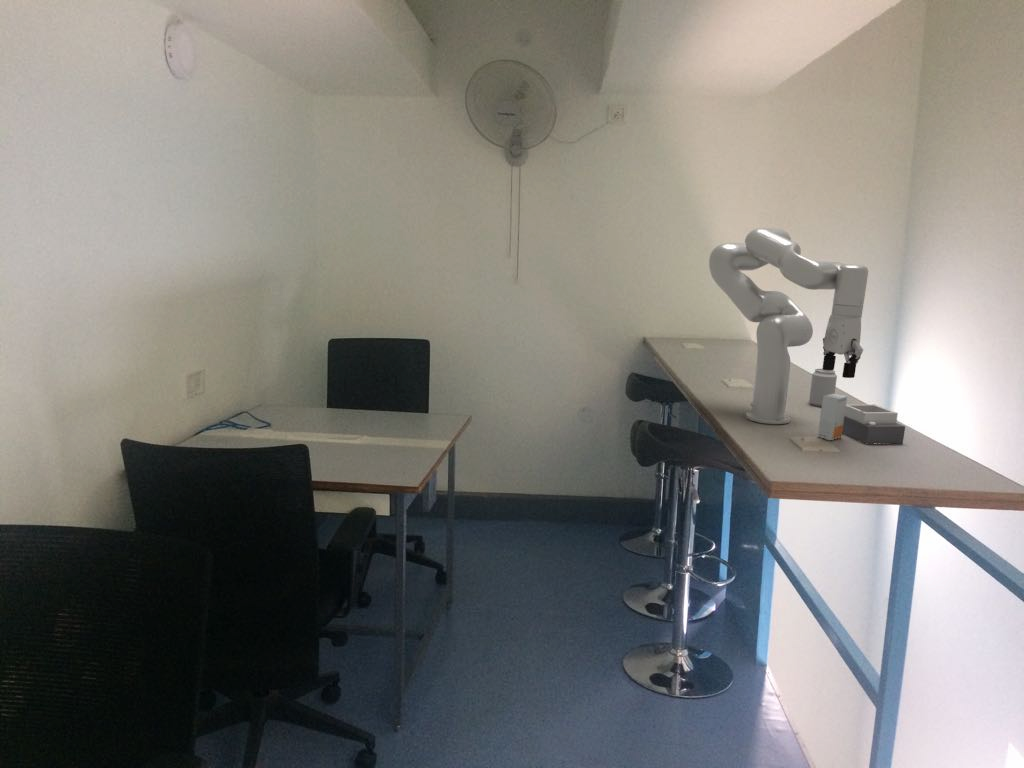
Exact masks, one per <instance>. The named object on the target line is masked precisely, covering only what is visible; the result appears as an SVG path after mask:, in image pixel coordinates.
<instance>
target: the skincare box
mask: <svg viewBox="0 0 1024 768" xmlns="http://www.w3.org/2000/svg"><path fill="white" fill-rule="evenodd" d="M847 399H848V396H847V395H842V394H837V393H835V394H829V395H826V396H823V401H822V407H820V408H821V410H820V416H819V425H818V432H817V438H818V437H822V438H825V439H824V440H827V441H831V440H832V441H834V439H835V440H837V438H838V439H841V438H842V435H843V434H842V429H843V422H844V415H845V408H846V405H847V401H848V400H847ZM822 438H821V439H822Z"/></svg>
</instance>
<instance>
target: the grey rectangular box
mask: <svg viewBox="0 0 1024 768" xmlns="http://www.w3.org/2000/svg"><path fill="white" fill-rule="evenodd" d="M905 430H906V426H905V425H903V424H900V423H898V412H896V411H893V410H891V409H888V408H886V407H883V406H880V405H877V404H875V403H874V404H871V403H870V404H867V403H866V404H846V408H845V415H844V422H843V429H842V433H843V434H842V435H844V436H847V435H848V436H847V437H849V436H850V438H851V437H852V438H851V439H853V438H855V439H856V441H858V440H859V441H858V442H860V441H861V442H860V443H862V442H864V443H867V444H869V445H875V444H874V443H877V444H876V445H879V444H878V443H881V444H880V445H883V444H882V443H904V438H905V437H904V436H905ZM855 439H854V440H855ZM864 443H863V444H864Z"/></svg>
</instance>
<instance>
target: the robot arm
mask: <svg viewBox="0 0 1024 768" xmlns="http://www.w3.org/2000/svg"><path fill="white" fill-rule="evenodd" d="M801 251H802V250H801V247H800V245H799V243H797V242H795V241H793V240H792V237H791V235H790V234H789V232H787V231H786V230H784V229H781V228H775V227H774V228H769V227H768V228H767V227H758V228H755V229H752V230H751V231H750V232H748V233H747V235H746V236H745V239H744V243H742V242H741V243H740V242H737V243H736V242H726V243H723V244H722V243H721V244H719V245H717V246H715V248H713V250H712V251H711V253H710V255H709V260H708V263H709V265H708V266H709V271H710V274H711V277H712V279H713V281H714V282H715V284H716V285H717V286H718V287H719V288H720V289H721V290H722V292H724V293H725V294H726V296H728V298H729V299H730V300H731V302H732V303H733V304H734V306H736V307H737V309H738V310H739V312H741V314H742V315H743V316H744V317H745V318H746V319H747V321H749V322H752V323H758V325H757V328H756V332H755V333H756V345H757V347H756V348H757V356H756V366H755V367H756V369H755V377H754V388H753V398H752V401H751V402H750V403H749V406H750V407H751V411H747V412H746V414H745V418H746V419H748V420H749V421H752V422H756V423H761V424H765V425H786V424H789V423H790V422H791V417H790V416H789V415H786V408H787V398H788V389H789V381H790V372H791V357H790V353H789V349H788V348H792V347H800V346H804V345H806V344H807V343H808V342H810V341H811V340H812V337H813V333H814V330H813V325H812V322H811V320H810V319H809V318H808V317H807V315H806V314H805V313H804V312H803V311H802V310H801V309H800V307H799V306H798V305H797V304H796V303H795V302H794V301H793V299H791V298H790V297H789V296H788V295H787V294H785V293H784V292H781V291H777V290H763V289H761V288H760V287H759V286H758V285H757V284H756V283H755V281H753V279H752V278H751V277H749V276H748V275H746V274H745V273H743V272H742V271H755V270H757V269H760V268H762V267H765V266H767V265H768V264H769V265H771V266H773V267H775V268H777V269H779V271H780V274H781V275H782V276H783V277H784V278H785V279H787V280H788V281H789V282H791V283H794V284H795V285H797V286H799V287H801V288H804V289H806V290H834V293H833V298H832V299H833V300H832V305H831V306H832V308H831V313H830V316H829V317H828V321H827V325H826V329H825V333H824V334H825V335H824V337H823V338H822V345H823V346H822V349H823V354H822V355H823V361H822V362H823V363H822V367H821V369H823V370H834V371H835V365H836V364H835V363H836V357H837V356H836V354H837V355H844V360H845V362H844V364H843V369H842V370H843V371H842V378H845V379H854V378H855V377H856V375H855V374H856V370H857V369H856V368H857V364H858V363H859V360H860V359H861V356H862V354H863V352H864V348H863V347H862V345H861V344H860V343H861V334H862V318H863V317H862V316H863V311H864V306H865V305H864V303H865V297H866V291H867V290H866V289H867V283H868V278H869V269H868V267H867V266H865V265H860V264H845V263H842V262H837V261H813V260H810V259H809V258H806V257H804V256H802V255H801Z"/></svg>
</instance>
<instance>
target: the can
mask: <svg viewBox="0 0 1024 768" xmlns="http://www.w3.org/2000/svg"><path fill="white" fill-rule="evenodd" d="M837 378H838V375H837V374H836V371H835V369H834V370H823V369H822V368H815V369H814V372H813V373H812V375H811V383H810V392H809V401H808V402H809V403H810V404H811V405H812V406H814V407H818V408H822V401H823V396H826V395H829V394H836V387H837Z"/></svg>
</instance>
